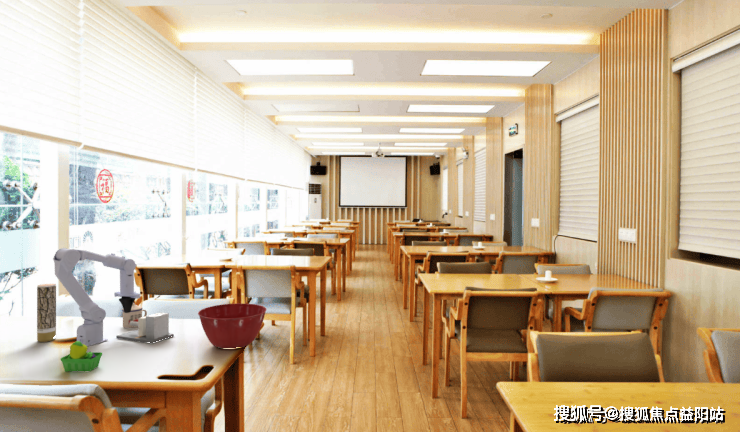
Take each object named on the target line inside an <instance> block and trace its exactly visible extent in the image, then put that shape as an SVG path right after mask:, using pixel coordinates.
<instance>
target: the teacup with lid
mask: <svg viewBox="0 0 740 432" xmlns="http://www.w3.org/2000/svg"><path fill="white" fill-rule="evenodd" d="M143 312H144V315H143ZM145 316H148V311H147V310H146V309H143V306H140V305H137V304H135V302H133V304H132V308H131V312H129V313H125V312H124V309H123V308H122V328H124V329H125V328H126V329H133V328H138V326H133V325H130V324H129V323H130V322H131V321H133V322H138V318H141V317H145Z"/></svg>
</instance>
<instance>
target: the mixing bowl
mask: <svg viewBox="0 0 740 432" xmlns="http://www.w3.org/2000/svg"><path fill="white" fill-rule="evenodd" d="M266 312H267V308H266V307H265V306H263V305H260V304H254V303H242V302H241V303H223V304H218V305H217V304H215V305H212V306H207V307H204V308H202V309H201V310H199V311H198V312H197V315H198V316H199V321H200V323H201V327H202V330H203V332H204V335H205V336H206V338H207V339H208V341H209V343H210V344H211V345H212V346H214V347H216V348H217V347H219V348H236V347H243V348H246V347H248V346H249V345H250V344H251V343H253V341H255V340H256V338H257V336H258V335H259V332H260V330H261V327H262V326H263V321H264V318H265V315H266ZM245 346H246V347H245ZM219 348H218V349H219Z"/></svg>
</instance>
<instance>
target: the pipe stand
mask: <svg viewBox="0 0 740 432" xmlns="http://www.w3.org/2000/svg"><path fill="white" fill-rule="evenodd" d="M169 317H170V315H169V312H157V313H152V314H149V315H146V338H147V339H153V340H155V339H158V338H161V337H164V336H167V335H169V333H170V332H169V331H170V330H169V322H170V321H169V320H170V318H169ZM129 324H130V325H133V326H138V322H133V321H131V322H130V323H129Z"/></svg>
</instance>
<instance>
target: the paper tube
mask: <svg viewBox="0 0 740 432" xmlns="http://www.w3.org/2000/svg"><path fill="white" fill-rule="evenodd" d="M36 289H37V291H36V306H37V307H36V315H37V316H36V333H37V334H36V341H37V342H38V343H47V342H52V341H54V340H53V337H54V336H55V335H56V336H57V284H56V283H43V284H42V283H41V284H37V287H36Z"/></svg>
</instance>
